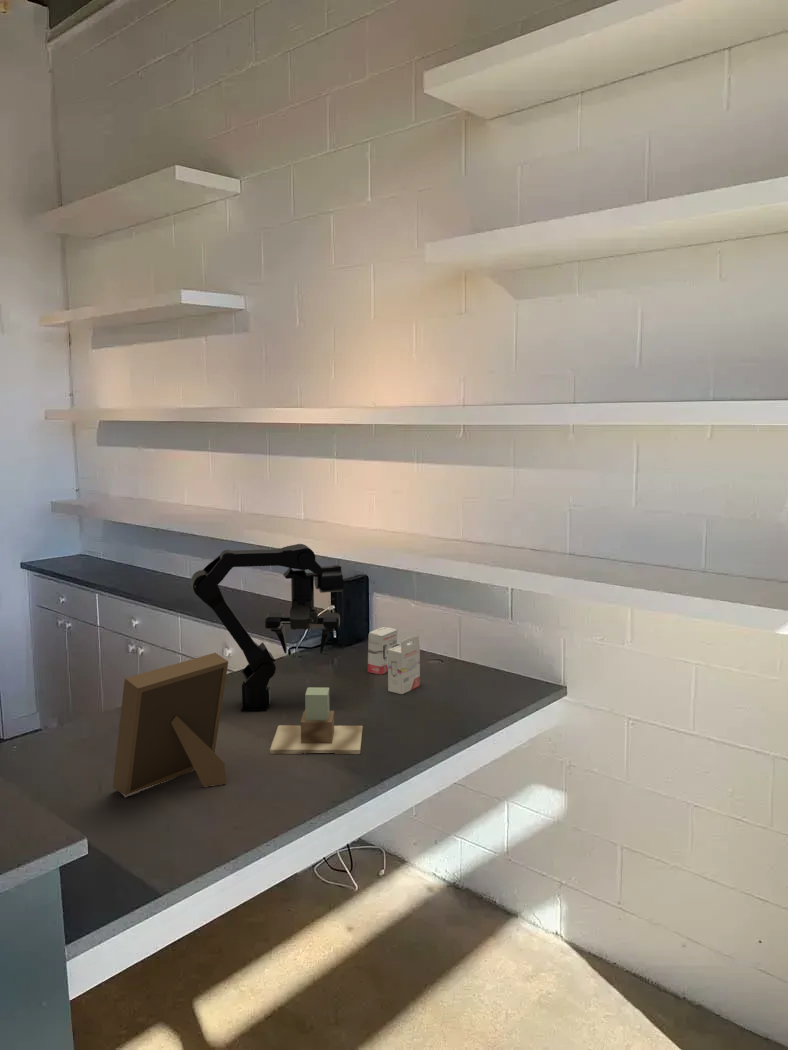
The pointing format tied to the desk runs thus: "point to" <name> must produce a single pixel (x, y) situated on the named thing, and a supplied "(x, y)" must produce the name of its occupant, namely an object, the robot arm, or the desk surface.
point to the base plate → (338, 747)
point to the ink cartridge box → (404, 666)
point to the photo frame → (171, 724)
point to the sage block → (317, 704)
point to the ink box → (380, 649)
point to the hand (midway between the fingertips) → (303, 653)
